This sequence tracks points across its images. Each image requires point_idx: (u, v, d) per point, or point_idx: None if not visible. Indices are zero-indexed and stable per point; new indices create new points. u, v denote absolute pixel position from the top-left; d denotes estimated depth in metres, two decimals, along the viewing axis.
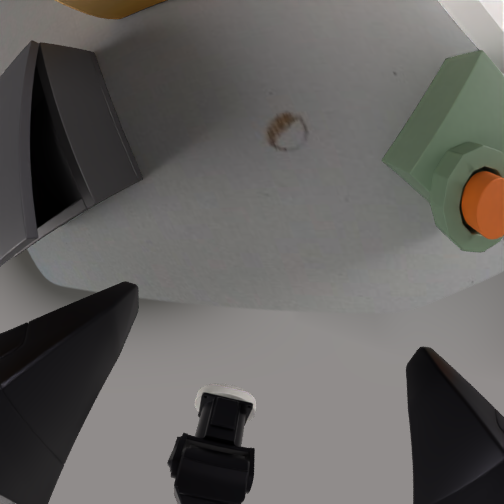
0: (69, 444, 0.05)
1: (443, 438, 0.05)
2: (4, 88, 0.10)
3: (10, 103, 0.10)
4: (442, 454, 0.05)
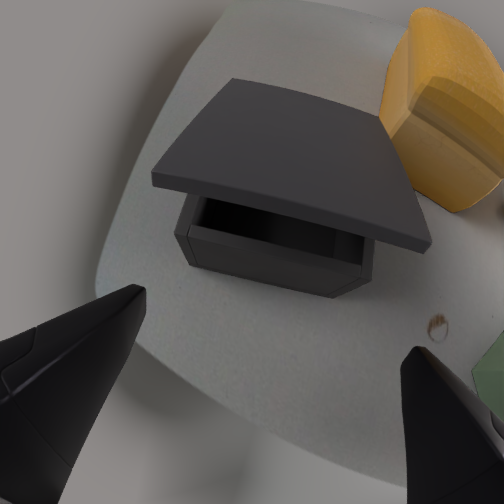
0: (78, 448, 0.05)
1: (437, 439, 0.05)
2: (350, 116, 0.17)
3: (373, 136, 0.16)
4: (436, 455, 0.05)
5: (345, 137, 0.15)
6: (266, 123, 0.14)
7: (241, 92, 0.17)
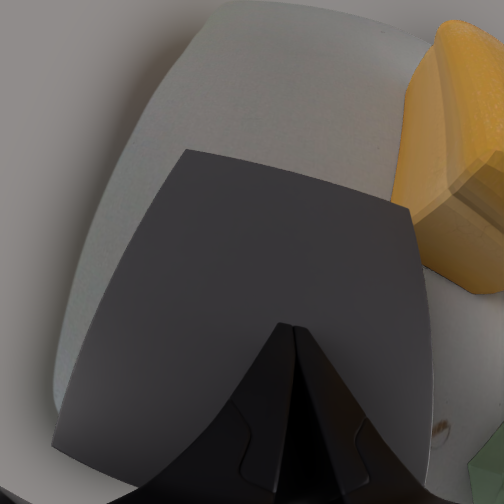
0: None
1: (293, 441, 0.05)
2: (368, 227, 0.12)
3: (399, 279, 0.10)
4: (296, 461, 0.05)
5: (354, 308, 0.09)
6: (217, 308, 0.09)
7: (190, 196, 0.11)
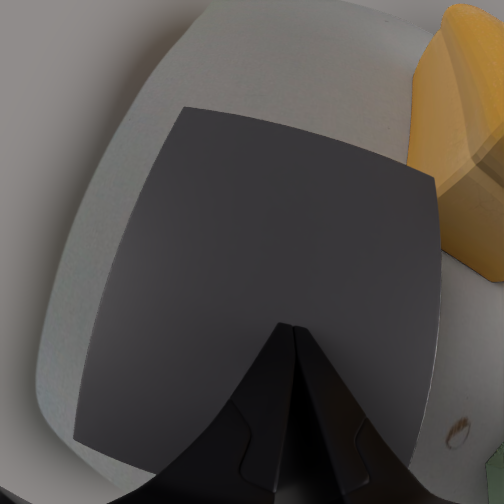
0: None
1: (293, 441, 0.05)
2: (388, 201, 0.10)
3: (415, 266, 0.09)
4: (296, 461, 0.05)
5: (362, 301, 0.09)
6: (217, 304, 0.08)
7: (188, 168, 0.10)
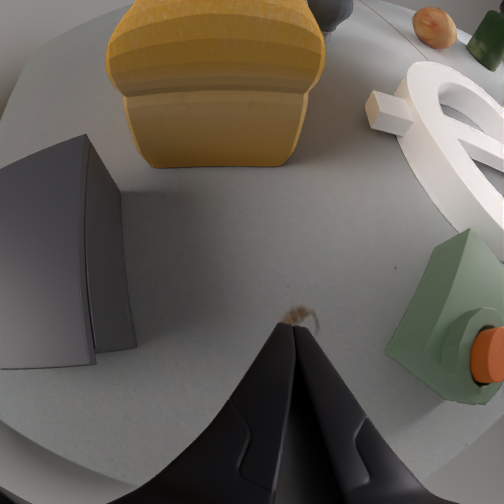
0: None
1: (293, 441, 0.05)
2: (45, 173, 0.13)
3: (58, 201, 0.13)
4: (296, 461, 0.05)
5: (28, 237, 0.12)
6: None
7: None
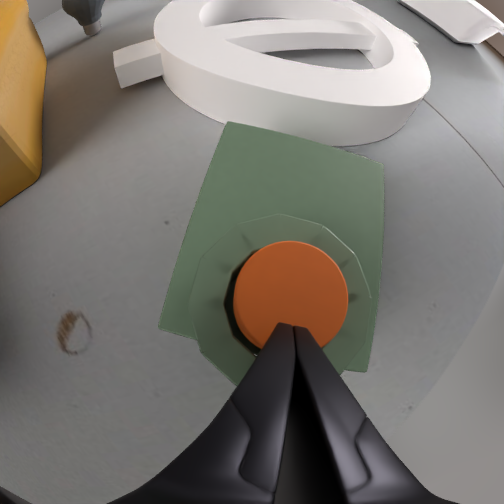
0: None
1: (293, 441, 0.05)
2: None
3: None
4: (296, 461, 0.05)
5: None
6: None
7: None
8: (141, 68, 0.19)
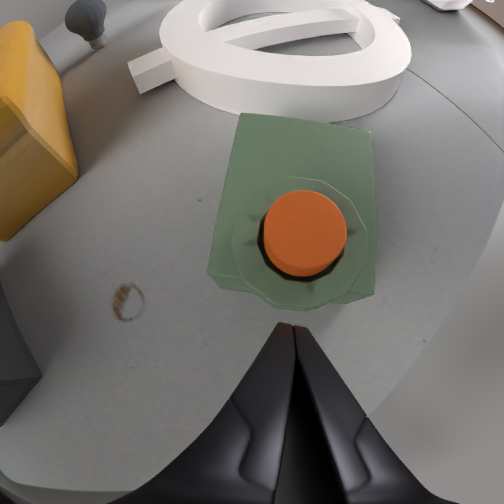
0: None
1: (293, 441, 0.05)
2: None
3: None
4: (296, 461, 0.05)
5: None
6: None
7: None
8: (156, 75, 0.23)
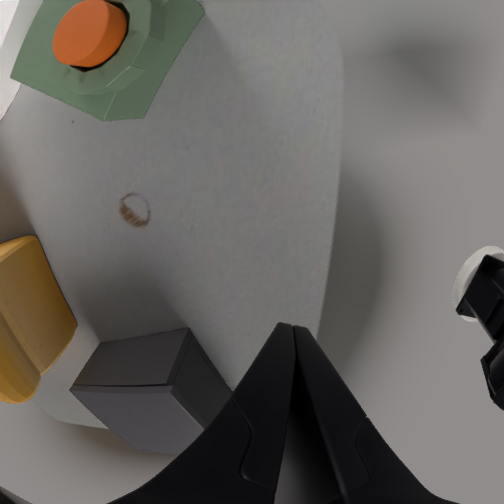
0: None
1: (293, 441, 0.05)
2: (98, 408, 0.22)
3: (105, 402, 0.21)
4: (296, 461, 0.05)
5: (130, 416, 0.21)
6: (165, 440, 0.23)
7: (146, 446, 0.25)
8: None
